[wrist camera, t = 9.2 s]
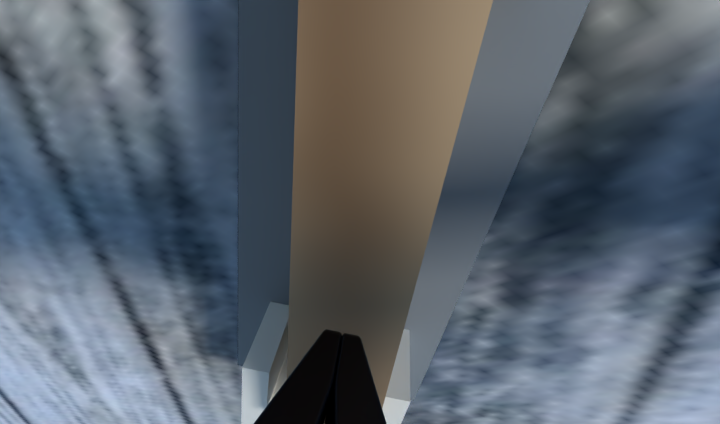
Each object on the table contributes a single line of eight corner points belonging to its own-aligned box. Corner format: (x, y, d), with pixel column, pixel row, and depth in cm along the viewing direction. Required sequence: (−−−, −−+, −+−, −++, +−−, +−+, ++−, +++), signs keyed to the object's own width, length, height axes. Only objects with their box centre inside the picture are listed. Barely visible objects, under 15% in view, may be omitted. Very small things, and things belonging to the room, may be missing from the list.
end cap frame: (713, -306, 9) (969, -548, 5) (413, 391, 23) (414, 473, 19) (249, -405, 9) (120, -731, 5) (241, 356, 23) (208, 431, 19)
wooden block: (480, -125, 10) (555, -233, 5) (375, 348, 21) (366, 467, 16) (354, -142, 10) (306, -266, 5) (313, 338, 21) (284, 452, 16)
